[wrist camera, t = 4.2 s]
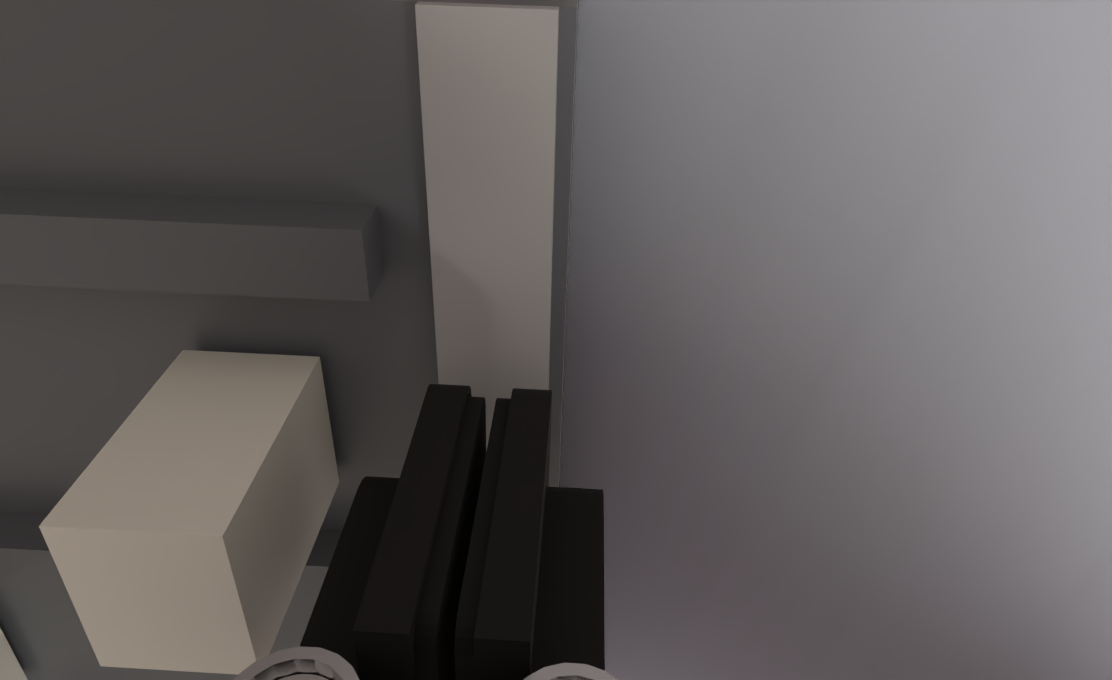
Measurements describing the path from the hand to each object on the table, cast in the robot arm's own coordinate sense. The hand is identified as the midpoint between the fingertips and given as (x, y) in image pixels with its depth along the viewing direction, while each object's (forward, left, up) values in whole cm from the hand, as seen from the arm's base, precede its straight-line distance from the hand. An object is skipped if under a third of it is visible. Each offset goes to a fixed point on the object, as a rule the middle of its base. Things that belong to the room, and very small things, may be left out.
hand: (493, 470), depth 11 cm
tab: (0, +4, -1) cm, 4 cm away
